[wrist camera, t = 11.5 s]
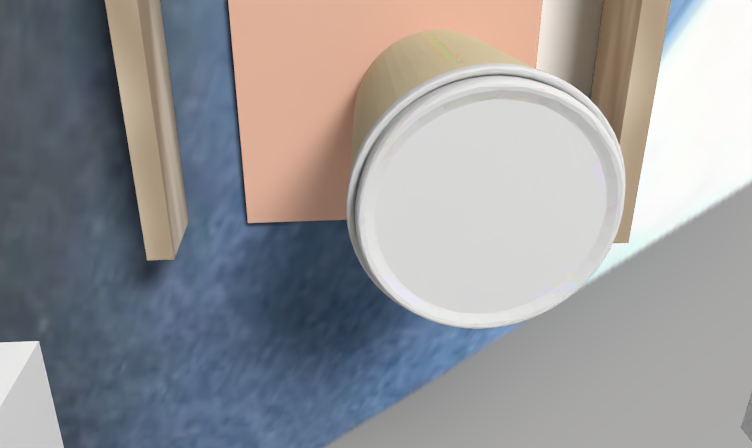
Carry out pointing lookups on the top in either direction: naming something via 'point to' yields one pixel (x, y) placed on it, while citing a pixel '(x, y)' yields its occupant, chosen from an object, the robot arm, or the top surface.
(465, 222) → the coffee cup
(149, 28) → the bay
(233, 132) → the top surface
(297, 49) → the front mat
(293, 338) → the top surface
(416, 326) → the top surface
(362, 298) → the top surface
